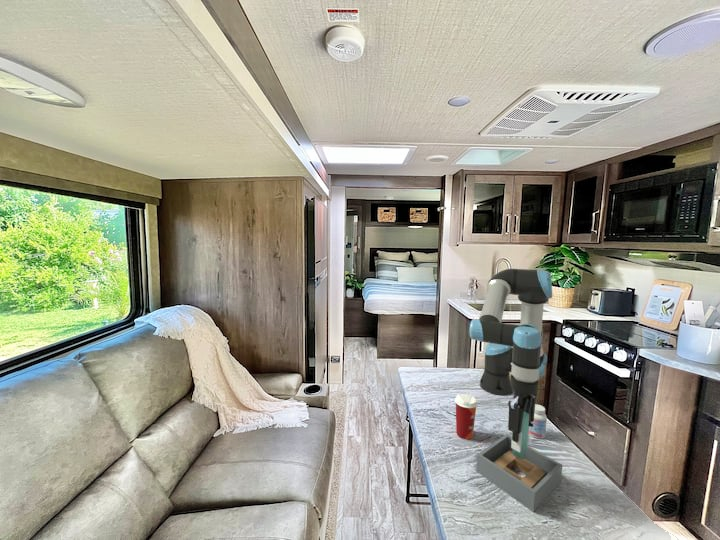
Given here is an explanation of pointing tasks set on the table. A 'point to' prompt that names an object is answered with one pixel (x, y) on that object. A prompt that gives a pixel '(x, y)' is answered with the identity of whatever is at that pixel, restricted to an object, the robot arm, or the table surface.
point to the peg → (523, 438)
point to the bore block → (521, 469)
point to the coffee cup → (465, 415)
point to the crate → (511, 483)
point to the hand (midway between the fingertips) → (519, 446)
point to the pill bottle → (538, 422)
